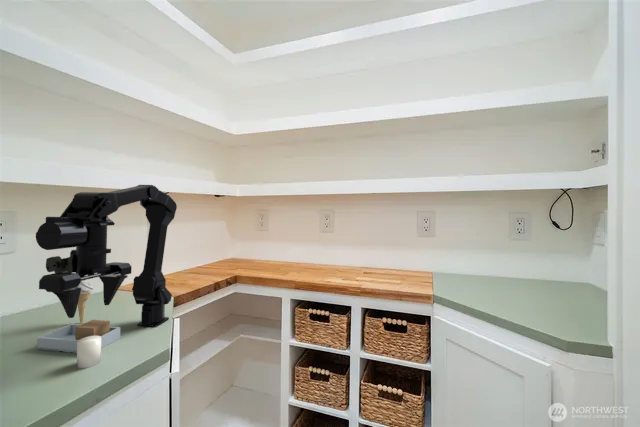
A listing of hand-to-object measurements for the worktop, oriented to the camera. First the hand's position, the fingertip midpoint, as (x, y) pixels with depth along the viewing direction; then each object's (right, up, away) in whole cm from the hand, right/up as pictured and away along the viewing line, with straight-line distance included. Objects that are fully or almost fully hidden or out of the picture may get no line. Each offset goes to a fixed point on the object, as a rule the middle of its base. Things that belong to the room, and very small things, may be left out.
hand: (90, 310), depth 69 cm
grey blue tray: (-9, -11, +8) cm, 16 cm away
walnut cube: (-5, -11, +7) cm, 14 cm away
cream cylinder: (+1, -12, -2) cm, 12 cm away
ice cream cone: (-19, -11, +21) cm, 30 cm away
